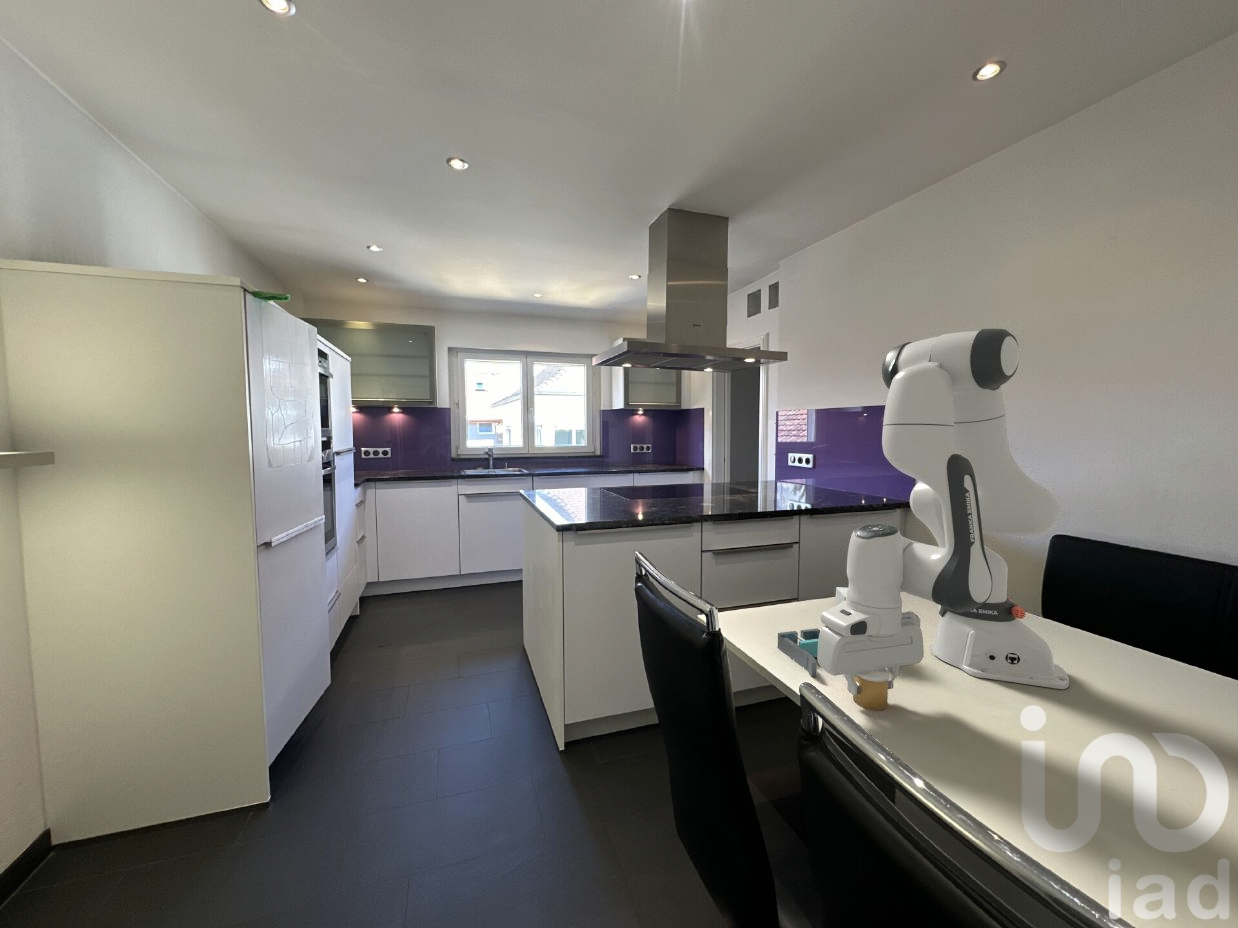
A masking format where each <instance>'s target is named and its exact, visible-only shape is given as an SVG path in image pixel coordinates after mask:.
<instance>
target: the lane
mask: <svg viewBox="0 0 1238 928" xmlns="http://www.w3.org/2000/svg"><path fill="white" fill-rule="evenodd" d="M820 631H821V629H819V628H817V627H816V628H808V629H807V628H806V629H800V635H799V632H798V631H796V630H791V631H782V632H778V633H777V649H779V650H780V651H781V650H782V651H781V652H783V653H784V654H785V655H786V654H787V655H786V656H788V657H789V656H790V657H791V658H790V657H789V658H790V659H791V660H793V659H794V660H795V661H794V660H793V661H794V662H796V661H797V662H796V663H797V664H798V663H799V664H800V665H799V664H798V665H799V666H801V667H802V668H803V667H804V668H803V669H805V670H806V671H807V670H808V671H807V672H808V674H809V676H810V678H817V676H818V675H817V671H818V669H817V668H818V661H817V660H816V659H815V657H813V656H812V655H811V654H810V653H808V652H807V651H805V650H804V649H803V648H801V647H800V646H799V639H798V636H800V637H801V638H803V639H804V640H812V639H819V634H820Z"/></svg>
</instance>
